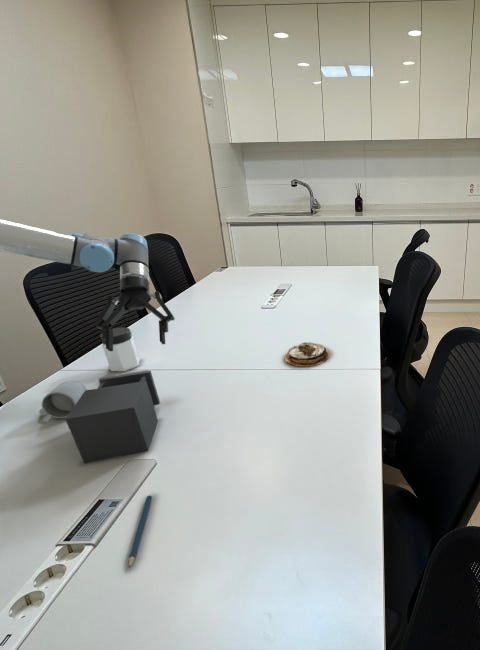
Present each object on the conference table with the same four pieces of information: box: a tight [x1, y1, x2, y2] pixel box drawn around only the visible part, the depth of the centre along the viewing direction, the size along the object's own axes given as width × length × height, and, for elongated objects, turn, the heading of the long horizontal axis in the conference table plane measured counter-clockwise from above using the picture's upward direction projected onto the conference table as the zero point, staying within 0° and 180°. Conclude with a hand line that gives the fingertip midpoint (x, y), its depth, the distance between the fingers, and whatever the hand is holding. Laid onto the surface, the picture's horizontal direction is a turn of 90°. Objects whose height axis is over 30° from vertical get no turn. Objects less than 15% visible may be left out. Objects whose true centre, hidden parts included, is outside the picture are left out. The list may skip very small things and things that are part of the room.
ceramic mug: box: [38, 380, 88, 419], centre depth 102 cm, size 11×8×8 cm
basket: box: [97, 369, 161, 407], centre depth 99 cm, size 17×12×10 cm
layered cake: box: [284, 341, 331, 367], centre depth 129 cm, size 15×15×4 cm
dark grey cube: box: [64, 381, 159, 464], centre depth 89 cm, size 12×13×12 cm
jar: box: [99, 327, 141, 372], centre depth 124 cm, size 9×8×12 cm
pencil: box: [128, 495, 153, 569], centre depth 68 cm, size 1×1×15 cm
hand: (136, 346), depth 110 cm, fingers open, 13 cm apart
